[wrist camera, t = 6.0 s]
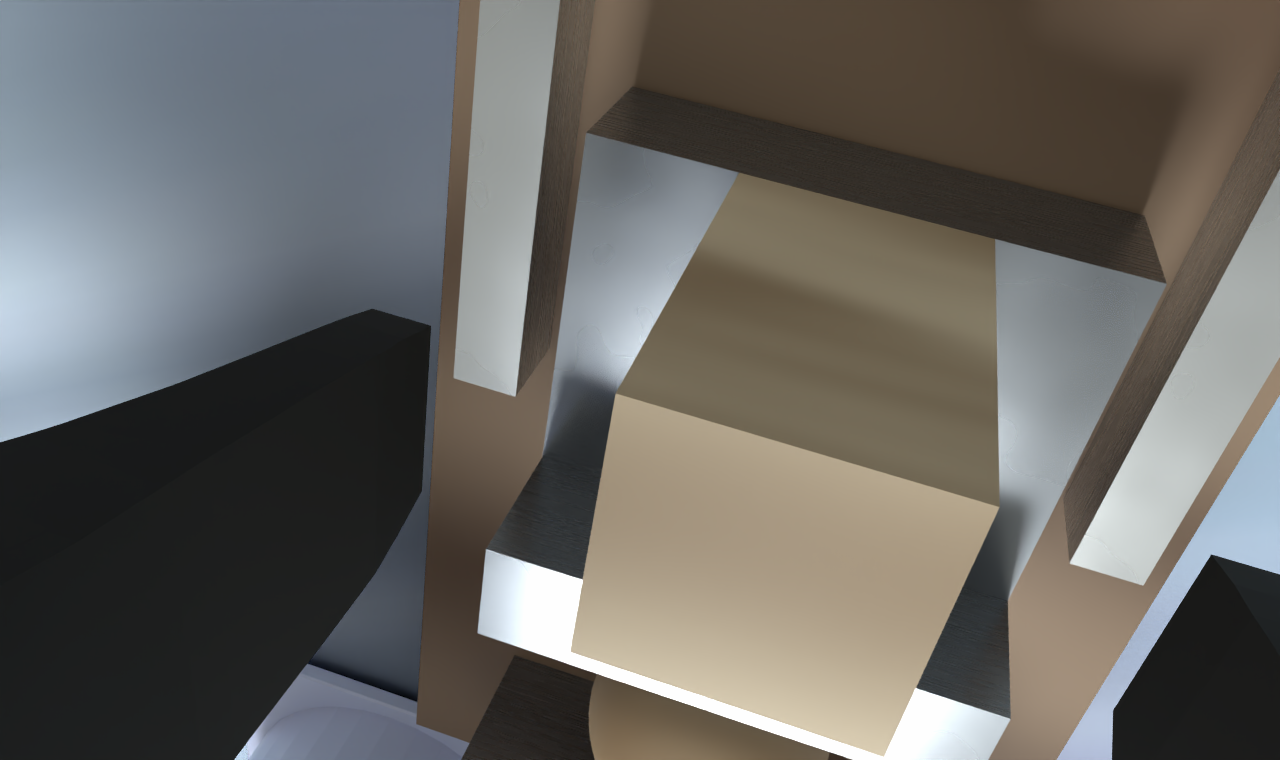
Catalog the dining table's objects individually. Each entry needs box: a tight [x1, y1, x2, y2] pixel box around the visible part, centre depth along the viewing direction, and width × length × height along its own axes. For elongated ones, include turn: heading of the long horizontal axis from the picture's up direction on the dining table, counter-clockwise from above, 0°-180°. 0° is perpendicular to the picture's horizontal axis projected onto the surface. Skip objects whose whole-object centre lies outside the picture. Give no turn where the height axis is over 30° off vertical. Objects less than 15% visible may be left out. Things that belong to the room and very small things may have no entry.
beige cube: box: [478, 86, 1167, 760], centre depth 13 cm, size 7×7×7 cm
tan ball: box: [589, 674, 830, 760], centre depth 17 cm, size 4×4×4 cm
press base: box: [416, 0, 1280, 760], centre depth 15 cm, size 22×12×6 cm, turn 171°
